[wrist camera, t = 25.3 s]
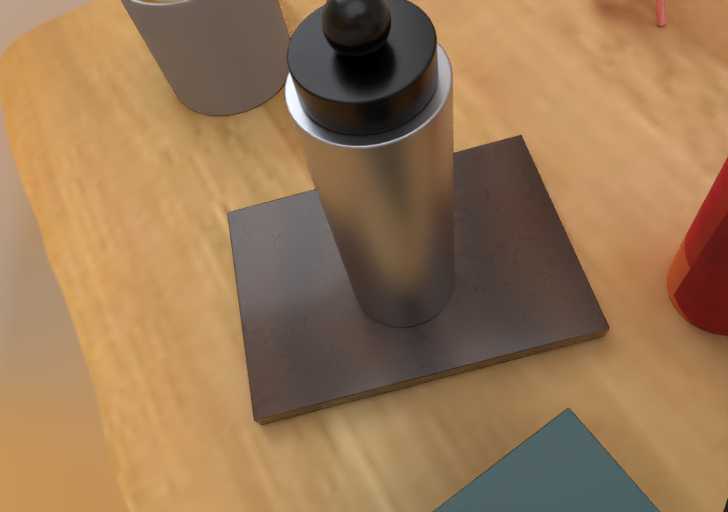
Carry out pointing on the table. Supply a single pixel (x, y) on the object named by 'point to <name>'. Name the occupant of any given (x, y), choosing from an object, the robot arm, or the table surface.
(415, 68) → the pepper mill
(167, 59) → the coffee mug
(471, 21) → the table surface
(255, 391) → the board
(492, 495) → the cabinet
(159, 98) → the table surface
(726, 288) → the paper cup
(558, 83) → the table surface
